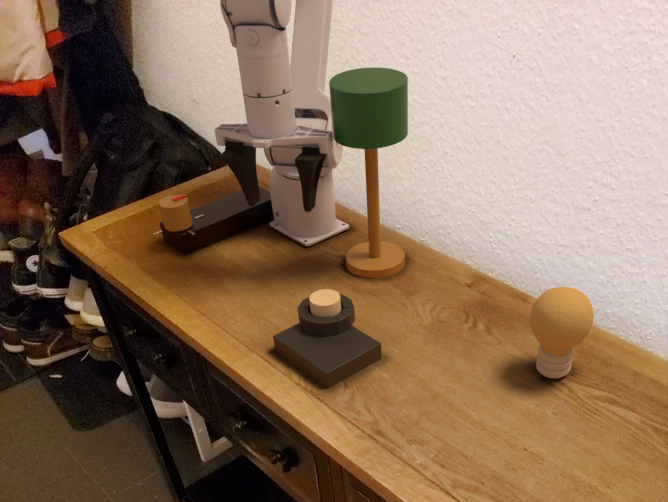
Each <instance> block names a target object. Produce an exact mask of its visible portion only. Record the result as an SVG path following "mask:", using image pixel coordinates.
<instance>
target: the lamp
mask: <svg viewBox="0 0 668 502" xmlns="http://www.w3.org/2000/svg"><path fill="white" fill-rule="evenodd" d="M328 85H329V86H328V87H329V98H330V102H331V115H332V129H333V138H334V140H335V141H336V142H337V143H339V144H341V145H343V147H346V148H351V149H357V150H364V169H365V191H366V193H365V194H366V214H367V216H366V217H367V236H368V237H367V238H368V241H365V242H361V243H358V244H356V245H354V246H352V247H351V248H350V249H348V251H346V254H345V266H346V269H347V270H348V271H349V272H350V273H351V274H353V275H355V276H358V277H361V278H367V279H381V278H386V277H390V276H393V275H395V274H397V273H399V272H400V271H401V270H403V268H404V267H405V264H406V254H405V251H404V249H403V247H401V246H400V245H397V244H395V243H393V242H390V241H383V240H382V239H381V215H380V214H381V213H380V211H381V210H380V207H381V206H380V181H379V180H380V178H379V177H380V176H379V152H378V150H379V149H383V148H387V147H388V148H389V147H391V146H394V145H397V144H399V143H401V142H403V141H404V140H405V139H406V138H407V137H408V135H409V77H408V76H407V74H405V73H404V72H403V71H400V70H397V69H394V68H388V67H373V66H372V67H359V68H354V69H348V70H344V71H343V72H339V73H337V74H335V75H333V76H332V77H331V78H330V79H329V82H328ZM381 240H382V241H381Z"/></svg>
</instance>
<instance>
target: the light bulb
mask: <svg viewBox="0 0 668 502" xmlns="http://www.w3.org/2000/svg"><path fill="white" fill-rule="evenodd" d="M529 317H530V318H529V324H530V329H531V332H532V334H533V336H534V337H535V339H536V340H537V342H538V343H539V346H538V352H537V357H536V364H535V367H536V368H535V369H536V370H537V372H538V373H539V374H540V375H542V376H544V377H546V378H549V379H560V378H563V377H565V376H567V375H568V374H570V372H571V369H572V364H573V357H574V353H575V347H577V346H578V345H580V344H581V343H582V342H583V341H584V340H585V339H586V338H587V337H588V335H589V334H590V331H591V329H592V327H593V324H594V308H593V305H592V303H591V300H590V299H589V298H588V296H587V295H586V294H585V293H584V292H583V291H581V290H579V289H577V288H574V287H570V286H557V287H552V288H549V289H547V290H544V292H542V293H541V294H540V295H539V296H538V297H537V299H536V300H535V302H534V303H533V305H532V308H531V311H530V316H529Z"/></svg>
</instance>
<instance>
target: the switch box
mask: <svg viewBox="0 0 668 502" xmlns="http://www.w3.org/2000/svg"><path fill="white" fill-rule="evenodd" d="M339 294H340V299H341V311H340V313H339V314H337V315H335V316H332V317H325V318H321V317H315V316H313V315H312V313H311V310H310V301H309V297H310V296H308V297H306V298H303V300H302V301H301V302H300V303H299V304H298V306H297V308H296V310H297V316H298V317H297V318H298V323H296V324H294V325H292V326H291V327H288V328H286V329H284V330H282V331H280V332H279V333H276V334H274V335H273V336H272V340H273V345H274V351H275V352H276V353H277V354H278V355H280V356H281V357H283V358H284V359H286V360H287V361H288V362H289V363H291V364H293V365H294V366H295V367H297V368H298V369H299V370H301V371H302V372H304V373H305V374H306V375H308V376H309V377H311V378H312V379H313V380H315V381H316V382H317V383H319V384H320V385H322V386H323V387H324V388H326V389H328V390H329V389H331V388H333V387H334V386H336V385H338V384H340V383H342V382H343V381H345V380H346V379H348V378H351V377H353V376H354V375H355V374H357V373H359V372H361V371H363V370H364V369H366V368H368V367H370V366H372V365H373V364H375V363H377V362H379V361H380V360H382V356H383V355H382V343H381V342H380V341H378V340H377V339H375V338H373V337H371V336H370V335H368V334H367V333H365V332H363V331H361V330H360V329H359V328H357V327H355V326H354V325H353V324H354V323H355V321H356V313H355V305H354V303H353V300H352V299H351V298H350V297H348V296H346V295H344V294H342V293H339Z"/></svg>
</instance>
